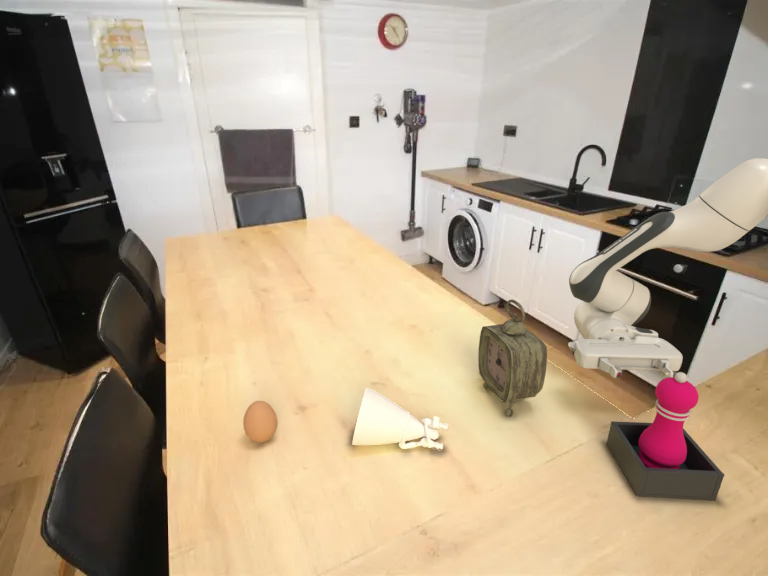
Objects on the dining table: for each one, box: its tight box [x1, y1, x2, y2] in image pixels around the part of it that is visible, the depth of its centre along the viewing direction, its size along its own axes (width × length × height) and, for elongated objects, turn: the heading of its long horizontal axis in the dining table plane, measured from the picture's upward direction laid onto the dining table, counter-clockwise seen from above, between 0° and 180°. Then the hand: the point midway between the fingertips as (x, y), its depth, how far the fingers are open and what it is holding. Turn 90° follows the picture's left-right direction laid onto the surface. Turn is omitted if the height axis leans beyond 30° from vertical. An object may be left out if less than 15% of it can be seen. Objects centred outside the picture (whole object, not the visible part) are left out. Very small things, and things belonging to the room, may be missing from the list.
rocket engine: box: [351, 386, 449, 452], centre depth 82 cm, size 12×12×18 cm
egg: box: [242, 400, 278, 443], centre depth 84 cm, size 7×7×9 cm
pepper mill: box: [638, 371, 700, 469], centre depth 72 cm, size 7×7×20 cm
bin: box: [606, 420, 725, 501], centre depth 74 cm, size 13×13×6 cm
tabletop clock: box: [477, 299, 548, 417], centre depth 92 cm, size 14×9×25 cm, turn 14°
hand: (643, 375), depth 80 cm, fingers open, 8 cm apart
